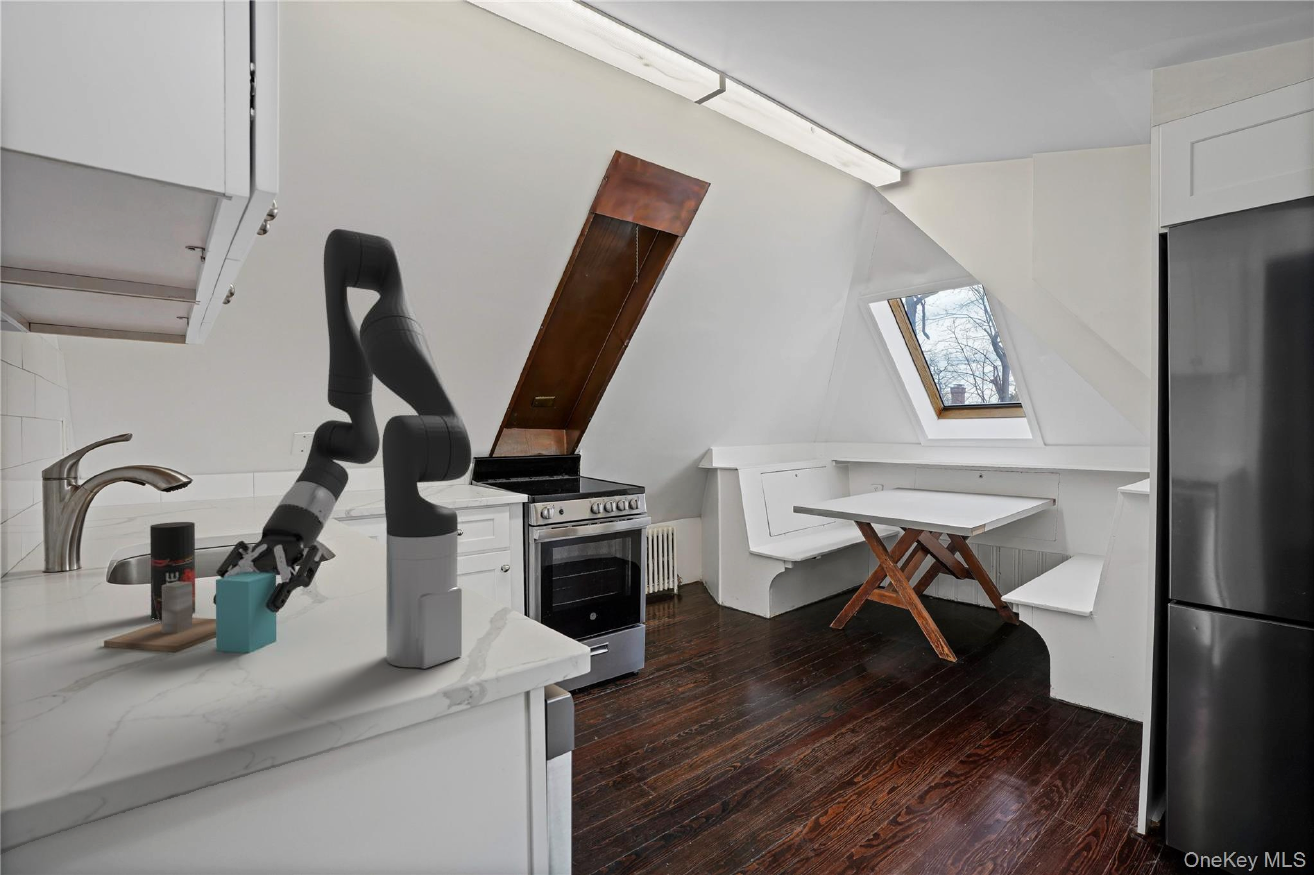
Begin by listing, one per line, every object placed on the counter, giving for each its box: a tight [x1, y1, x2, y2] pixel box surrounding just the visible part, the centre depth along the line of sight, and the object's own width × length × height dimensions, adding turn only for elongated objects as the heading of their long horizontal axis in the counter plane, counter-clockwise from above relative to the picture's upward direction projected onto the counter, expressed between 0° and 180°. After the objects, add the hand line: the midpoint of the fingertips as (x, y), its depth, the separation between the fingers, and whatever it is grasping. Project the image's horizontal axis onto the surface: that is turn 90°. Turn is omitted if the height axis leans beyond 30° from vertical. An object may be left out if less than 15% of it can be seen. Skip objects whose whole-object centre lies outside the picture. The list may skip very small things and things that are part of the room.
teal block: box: [215, 572, 277, 654], centre depth 95 cm, size 5×5×10 cm
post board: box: [103, 581, 216, 653], centre depth 99 cm, size 12×12×8 cm
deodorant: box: [149, 521, 196, 621], centre depth 109 cm, size 6×6×15 cm
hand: (244, 607), depth 94 cm, fingers open, 8 cm apart
